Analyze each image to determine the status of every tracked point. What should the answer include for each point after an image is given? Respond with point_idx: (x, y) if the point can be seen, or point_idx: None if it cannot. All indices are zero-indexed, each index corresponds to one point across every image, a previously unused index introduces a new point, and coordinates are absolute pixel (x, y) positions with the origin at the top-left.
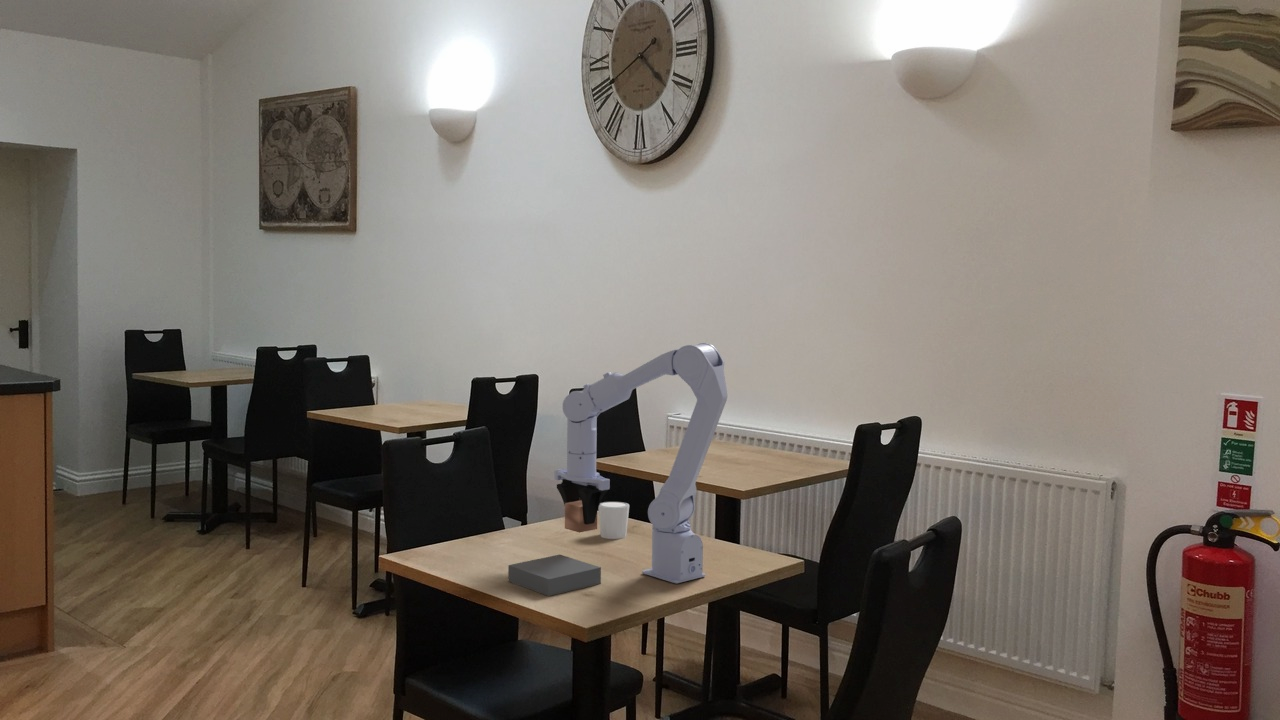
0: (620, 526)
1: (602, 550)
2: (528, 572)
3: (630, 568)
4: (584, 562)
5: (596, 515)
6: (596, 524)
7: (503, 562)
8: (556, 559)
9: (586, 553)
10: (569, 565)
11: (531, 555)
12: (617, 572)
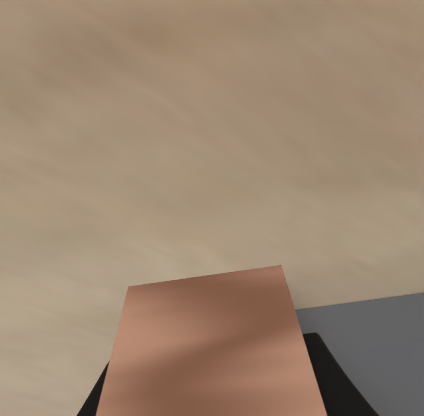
0: None
1: (29, 6)
2: None
3: (407, 80)
4: (413, 343)
5: (304, 342)
6: (287, 290)
7: (70, 403)
8: None
9: (60, 118)
10: (404, 392)
11: (11, 312)
12: (412, 166)
